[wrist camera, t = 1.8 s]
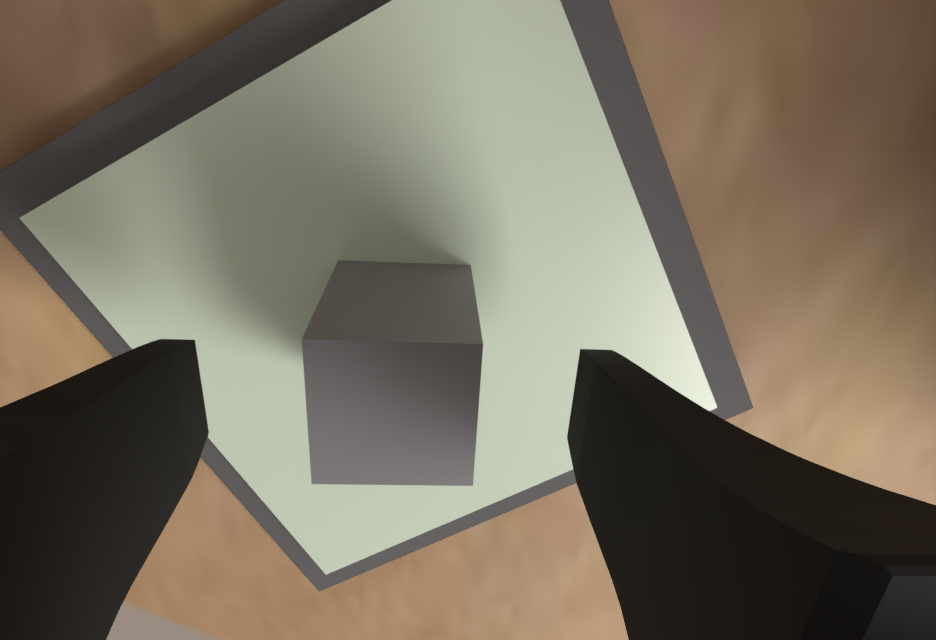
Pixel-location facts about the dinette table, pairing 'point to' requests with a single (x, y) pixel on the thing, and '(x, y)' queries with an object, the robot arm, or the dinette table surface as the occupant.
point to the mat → (272, 44)
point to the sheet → (385, 190)
